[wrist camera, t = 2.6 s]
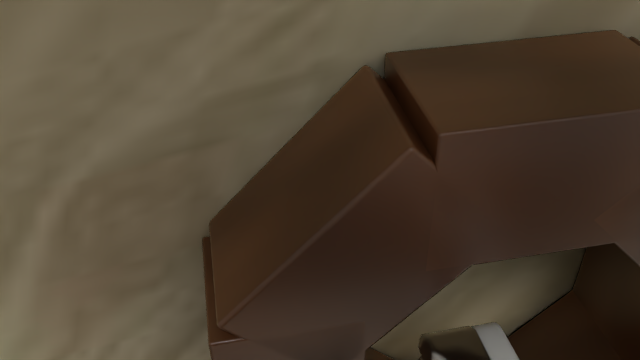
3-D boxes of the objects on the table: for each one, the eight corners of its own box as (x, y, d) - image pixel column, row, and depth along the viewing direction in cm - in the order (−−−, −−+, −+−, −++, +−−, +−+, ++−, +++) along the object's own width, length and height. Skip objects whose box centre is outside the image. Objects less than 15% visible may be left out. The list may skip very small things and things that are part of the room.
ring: (173, 73, 10) (173, 166, 8) (787, 11, 11) (924, 75, 9) (239, 450, 16) (248, 555, 14) (619, 378, 18) (677, 463, 16)
